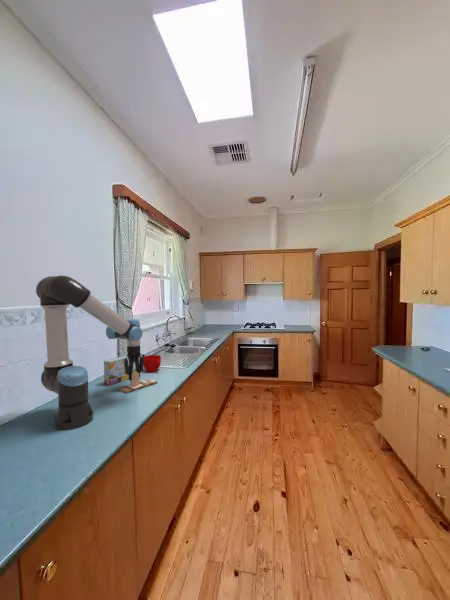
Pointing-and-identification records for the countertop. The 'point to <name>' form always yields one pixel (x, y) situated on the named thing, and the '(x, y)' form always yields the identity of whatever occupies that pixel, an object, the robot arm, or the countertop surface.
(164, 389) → the countertop surface
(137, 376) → the stub
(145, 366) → the ceramic cup
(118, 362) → the snack box
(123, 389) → the board
